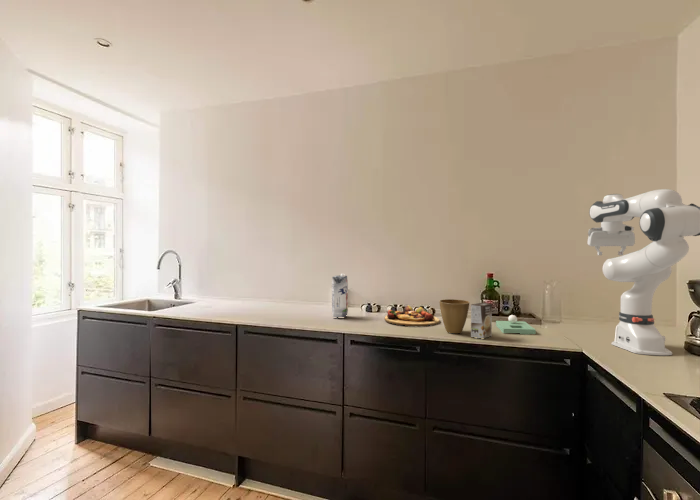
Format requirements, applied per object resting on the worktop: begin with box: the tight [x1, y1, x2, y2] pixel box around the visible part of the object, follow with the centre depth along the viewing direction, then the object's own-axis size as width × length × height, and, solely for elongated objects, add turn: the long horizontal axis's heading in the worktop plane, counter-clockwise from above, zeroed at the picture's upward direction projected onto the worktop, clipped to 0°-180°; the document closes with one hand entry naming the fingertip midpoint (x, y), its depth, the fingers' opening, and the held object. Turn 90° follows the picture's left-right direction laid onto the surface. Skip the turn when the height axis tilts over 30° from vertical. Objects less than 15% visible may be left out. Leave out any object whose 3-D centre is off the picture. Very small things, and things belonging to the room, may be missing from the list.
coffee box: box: [470, 302, 493, 339], centre depth 188 cm, size 9×6×16 cm
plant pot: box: [438, 298, 470, 334], centre depth 198 cm, size 15×15×16 cm
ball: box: [507, 314, 518, 323], centre depth 207 cm, size 4×4×4 cm
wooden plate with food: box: [384, 305, 441, 327], centre depth 227 cm, size 32×32×8 cm
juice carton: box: [331, 273, 349, 318], centre depth 240 cm, size 9×10×27 cm
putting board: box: [495, 320, 537, 335], centre depth 203 cm, size 20×15×2 cm
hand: (610, 255), depth 193 cm, fingers open, 8 cm apart
